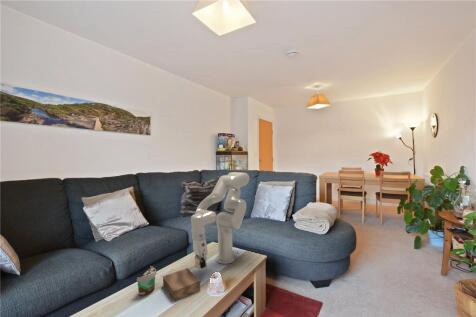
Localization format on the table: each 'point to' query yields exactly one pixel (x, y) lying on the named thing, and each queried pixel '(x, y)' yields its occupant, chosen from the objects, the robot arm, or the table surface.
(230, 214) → the robot arm
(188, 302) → the table surface
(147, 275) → the food container
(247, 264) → the table surface
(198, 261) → the birch block
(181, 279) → the walnut box
